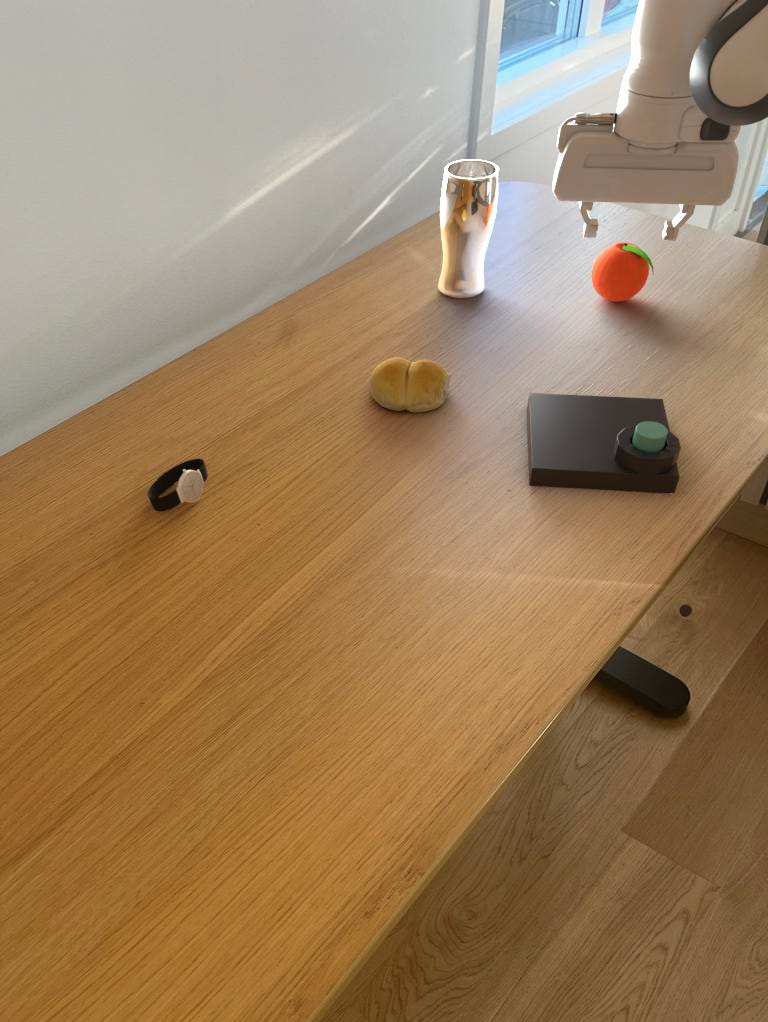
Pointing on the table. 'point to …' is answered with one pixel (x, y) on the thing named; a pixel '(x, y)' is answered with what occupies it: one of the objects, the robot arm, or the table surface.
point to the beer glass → (466, 225)
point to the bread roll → (409, 384)
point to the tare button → (650, 436)
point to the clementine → (620, 271)
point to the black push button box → (597, 444)
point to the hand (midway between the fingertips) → (628, 237)
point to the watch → (179, 485)
